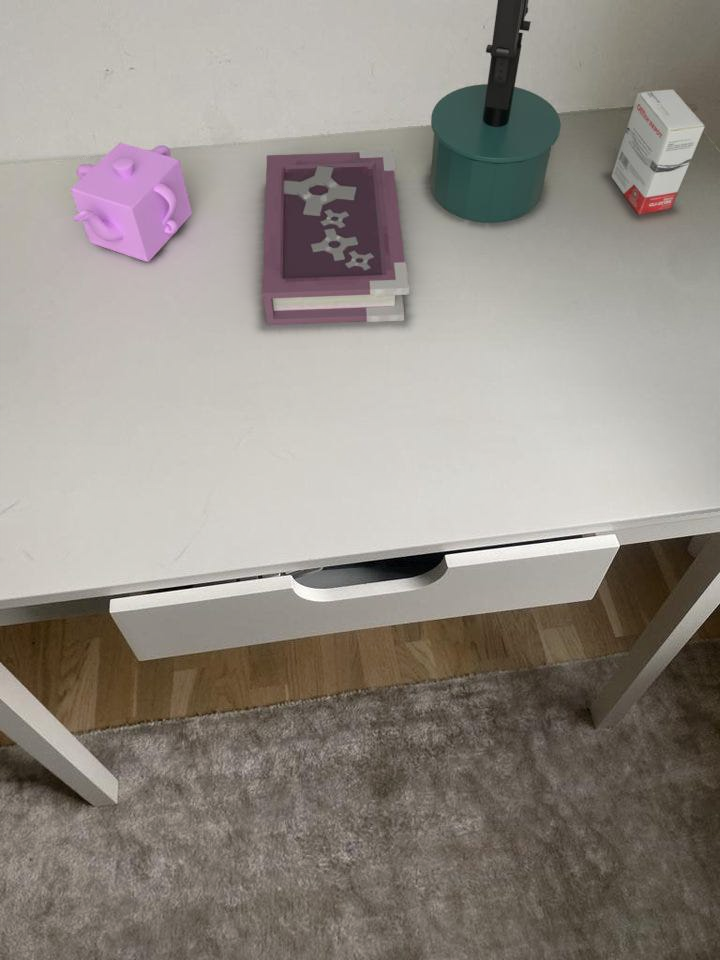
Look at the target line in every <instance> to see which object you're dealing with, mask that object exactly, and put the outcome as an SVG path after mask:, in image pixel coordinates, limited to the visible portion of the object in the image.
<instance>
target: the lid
mask: <svg viewBox="0 0 720 960" xmlns="http://www.w3.org/2000/svg"><path fill="white" fill-rule="evenodd" d="M517 51H518V52H517V58H516V64H515V70H514V76H513V82H512V88H511V94H510V100H509V106H508V110H504V109H497V108H491V107H485V101H486V94H487V87H488V83H482V84H474V85H468V86H464V87H461V88H457V89H455V90H453V91H451V92H449V93H448V94H446V95H445V96H442V98H441V99H439V100H438V101H437V102H436V104H435V105H434V107H433V109H432V112H431V116H430V117H431V118H430V125H431V130H432V132H433V135H434V134H435V136H436V137H437V139H438V140H439V141H440V142H441V143H442V144H443V145H444V146H446V147H447V148H449V149H450V150H452V151H453V152H455V153H457V154H459V155H462V156H464V157H467V158H471V159H474V160H479V161H484V162H492V163H510V162H518V161H523V160H527V159H530V158H533V157H536V156H538V155H540V154H542V153H544V152H545V151H547V150H548V149H549V148H550V147H551V146H552V147H553V145H554V144H556V142H557V140H558V138H559V135H560V132H561V127H562V126H561V125H562V123H561V119H560V116H559V113H558V112H557V110H556V109H555V107H554V106H553V105H552V104H551V103H550V102H549V101H548V100H546V99H545V98H543V97H542V96H540V95H538V94H537V93H534V92H532V91H530V90H527V89H524V88H522V87H517V86H516V80H517V76H518V75H517V74H518V69H519V63H520V58H521V51H522V42H521V43H520V42H519V41H517ZM491 58H492V56H491V55H490V59H491ZM489 63H490V64H489V66H490V65H491V61H490V62H489ZM489 72H490V68H489V71H488V73H489ZM488 79H489V76H487V80H488ZM552 147H551V148H552Z"/></svg>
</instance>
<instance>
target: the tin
mask: <svg viewBox="0 0 720 960" xmlns="http://www.w3.org/2000/svg"><path fill="white" fill-rule="evenodd" d="M432 141H433V142H432V154H431V155H432V156H431V168H430V179H429V183H430V189H431V194H432V196H433V197H434V199H435V201H436V202H437V203H438V205H440V206H441V207H442V208H443V210H446V211H447V212H448V213H450V214H452V215H454V216H456V217H459V218H461V219H465V220H468V221H472V222H476V223H490V224H492V223H493V224H494V223H504V222H509V221H513V220H516V219H518V218H520V217H523V216H525V215H527V214H528V213H530V212H531V211H532V210H533V209H534V208H535V207H536V206H537V205H538V203H539V201H540V199H541V197H542V191H543V186H544V182H545V179H546V174H547V169H548V165H549V160H550V155H551V151H552V147H553V145H552V146H551V147H550V148H549V149H548V150H547V151H545V152H544V153H542V154H540V155H538V156H536V157H533V158H530V159H527V160H523V161H518V162H510V163H492V162H484V161H479V160H474V159H471V158H467V157H464V156H462V155H459V154H457V153H455V152H453V151H452V150H450V149H449V148H447V147H446V146H444V145H443V144H442V143H441V142H440V141H439V140H438V139H437V137H436V136H435V134H434V133H433V140H432Z"/></svg>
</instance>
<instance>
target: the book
mask: <svg viewBox="0 0 720 960" xmlns="http://www.w3.org/2000/svg"><path fill="white" fill-rule="evenodd" d="M265 173H266V174H265V201H264V202H265V203H264V204H265V206H264V234H263V235H264V236H263V261H262V263H263V265H262V292H261V293H262V299H263V307H264V313H265V320H266V325H267V326H268V325H269V326H271V325H275V326H276V325H296V324H297V325H298V324H299V325H300V324H323V323H326V324H327V323H349V322H353V323H354V322H366V323H377V322H378V323H379V322H380V323H382V322H403V321H405V310H404V301H403V300H404V299H403V295H404V296H406V295H407V296H408V295H409V294H410V285H409V275H408V268H407V267H408V266H407V261H405V253H404V245H403V236H402V226H401V218H400V209H399V201H398V193H397V192H398V191H397V183H396V166H395V157H394V149H374V150H359V151H354V152H351V151H349V152H326V153H325V152H323V153H322V152H321V153H296V154H268V155H266V171H265Z"/></svg>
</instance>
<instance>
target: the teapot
mask: <svg viewBox="0 0 720 960" xmlns="http://www.w3.org/2000/svg"><path fill="white" fill-rule="evenodd" d="M171 156H172V154H171V149H170V148H169V147H168V146H167V145H163V144H162V145H157V146H155V147H154V148H153V149H151V150H148V149H145V148H141V147H138V146H134V145H131V144H127V143H124V142H122V141H120V142H119V143H118V144H117V145H115V146H114V147H113V148H112V149H111V150H110V151H109V152H108V153H107V154H105V155H104V156H103V157H102V158H101V159H100V160H99V161H98V162H97V163H96V164H89V163H85V164H80V165H78V166H77V168H76V175H77V177H78V179H79V180H78V181H77V182H76V183H75V184H74V185H73V186H72V187H71V188H70V192H71V195H72V197H73V200H74V203H75V206H76V208H77V211H78V213H77V214H75V216H74V217H73V221H74V222H75V223H79V222H82V224H83V226H84V230H85V232H86V235H87V237H88V240H89V242H90V244H92V245H96V246H99V247H102V248H105V249H108V250H111V251H114V252H117V253H120V254H123V255H125V256H129V257H131V258H134V259H137V260H140V261H143V262H146V263H149V262H150V261H151V260H152V259H153V258H154V257H155V255H156V254H158V252H159V251H160V250H161V249H162V248H163V247H164V245H166V243H167V242H168V241H169V240H170V239H171V238H172V237H173V235H175V234H176V233H177V232H178V230H179V229H180V228H181V227H182V226H183V224H184V223H185V222H186V221H187V220H188V219H189V218H190V217H191V215H193V212H192V208H191V203H190V199H189V195H188V189H187V186H186V181H185V177H184V172H183V167H182V164H181V160H180V159H178V158H175V157H171Z"/></svg>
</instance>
